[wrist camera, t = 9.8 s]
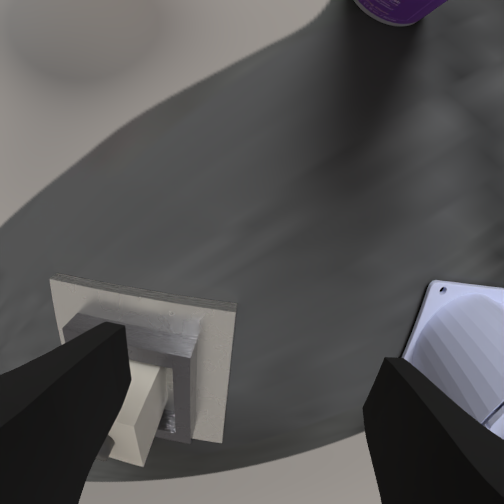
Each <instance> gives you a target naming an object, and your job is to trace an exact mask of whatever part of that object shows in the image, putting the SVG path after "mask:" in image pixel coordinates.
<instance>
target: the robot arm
mask: <svg viewBox="0 0 504 504" xmlns="http://www.w3.org/2000/svg"><path fill="white" fill-rule="evenodd" d="M442 287H444V289H443V290H442V291H441V292H440V289H441V288H442ZM131 380H132V378H131V371H130V364H129V356H128V347H127V338H126V328H125V325H121V324H116V323H112V322H107V321H106V322H103V323H101V324H99V325H97V326H95V327H93V328H92V329H90V330H88V331H86V332H84V333H83V334H81V335H79V336H77V337H75V338H74V339H72V340H70V341H68V342H66V343H65V344H63V345H61V346H59V347H57V348H56V349H54V350H52V351H50V352H48V353H46V354H44V355H42V356H40V357H38V358H36V359H34V360H32V361H30V362H28V363H26V364H24V365H22V366H20V367H18V368H16V369H14V370H11V371H9V372H7V373H4V374H2V375H0V504H78V503H79V499H80V496H81V493H82V490H83V487H84V484H85V481H86V478H87V476H88V473H89V471H90V469H91V467H92V464H93V462H94V460H95V458H96V457H97V455H98V453H99V451H100V449H101V447H102V445H103V443H104V441H105V439H106V437H107V435H108V433H109V431H110V430H111V428H112V426H113V424H114V422H115V420H116V418H117V416H118V414H119V412H120V410H121V408H122V405H123V403H124V400H125V397H126V395H127V392H128V389H129V386H130V383H131ZM363 416H364V425H365V433H366V439H367V443H368V447H369V451H370V455H371V459H372V464H373V467H374V472H375V476H376V480H377V484H378V487H379V492H380V497H381V502H382V504H504V288H498V287H490V286H482V285H473V284H465V283H457V282H449V281H441V280H434V281H432V282H431V283H430V284H429V286H428V288H427V291H426V294H425V297H424V300H423V303H422V306H421V309H420V311H419V314H418V317H417V320H416V322H415V325H414V328H413V330H412V333H411V335H410V338H409V340H408V343H407V345H406V348H405V350H404V353H403V355H402V357H401V358H387V357H385V358H384V361H383V363H382V365H381V368H380V370H379V373H378V375H377V377H376V380H375V382H374V384H373V386H372V389H371V391H370V393H369V395H368V397H367V400H366V402H365V404H364V406H363Z"/></svg>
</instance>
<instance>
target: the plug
mask: <svg viewBox="0 0 504 504" xmlns="http://www.w3.org/2000/svg"><path fill="white" fill-rule="evenodd" d="M129 364H130V371H131V378H132V380H131V383H130V386H129V389H128V392H127V395H126V397H125V400H124V403H123V405H122V408H121V410H120V412H119V414H118V416H117V418H116V420H115V422H114V424H113V426H112V428H111V430H110V431H109V433H108V435H107V437H106V439H105V441H104V443H103V445H102V447H101V449H100V451H99V453H98V455H97V457H96V458H95V459H97V460H100V461H107V459H108V457H111V458H114V459H117V460H121V461H124V462H127V463H131V464H134V465H138V466H142V467H144V464H145V461H146V458H147V456H148V453H149V450H150V447H151V444H152V442H153V439H154V436H155V433H156V431H157V428H158V425H159V422H160V420H161V417H162V414H163V411H164V409H165V406H166V403H167V401H168V392H167V375H166V367H162V366H157V365H152V364H148V363H143V362H139V361H134V360H130V359H129Z"/></svg>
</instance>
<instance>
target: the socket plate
mask: <svg viewBox="0 0 504 504" xmlns="http://www.w3.org/2000/svg"><path fill="white" fill-rule="evenodd" d="M50 285H51V292H52V298H53V304H54V309H55V315H56V320H57V325H58V330H59V334H60V339H61V343H62V345H63V344H65V343H66V342H68V341H70V340H72V339H74V338H75V337H77V336H79V335H81V334H83V333H84V332H86V331H88V330H90V329H92V328H93V327H95V326H97V325H99V324H101V323H103V322H106V321H107V322H112V323H116V324H121V325H125V328H126V338H127V347H128V356H129V359H130V360H134V361H139V362H143V363H148V364H152V365H157V366H162V367H166V375H167V392H168V401H167V403H166V406H165V409H164V411H163V414H162V417H161V420H160V422H159V425H158V428H157V431H156V433H155V436H154V437H159V438H163V439H167V440H172V441H177V442H182V443H187V444H191V442H192V438H193V439H198V440H204V441H210V442H217V443H222V440H223V434H224V424H225V414H226V405H227V395H228V386H229V376H230V367H231V358H232V348H233V339H234V330H235V321H236V312H237V303H229V302H222V301H215V300H208V299H201V298H195V297H188V296H182V295H175V294H169V293H163V292H157V291H151V290H145V289H139V288H134V287H128V286H122V285H117V284H111V283H106V282H101V281H96V280H90V279H85V278H80V277H75V276H70V275H65V274H61V273H57V274H56V275H54V276H53V277H51V278H50Z"/></svg>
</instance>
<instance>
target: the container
mask: <svg viewBox="0 0 504 504" xmlns="http://www.w3.org/2000/svg"><path fill="white" fill-rule="evenodd" d="M446 1H447V0H354V2H355V3H356V4H357V5H358V7H359V8H360V9H361V10H362V11H364V12H365V13H366V14H367V15H369V16H370V17H372V18H374V19H375V20H377V21H379V22H382V23H384V24H388V25H392V26H409V25H412V24H414V23H416V22H417V21H419V20H420V19H422V18H423V17H425V16H426V15H427V14H429V13H430V12H432V11H433V10H434V9H436V8H437V7H439V6H440V5H442V4H443V3H444V2H446Z"/></svg>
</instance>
